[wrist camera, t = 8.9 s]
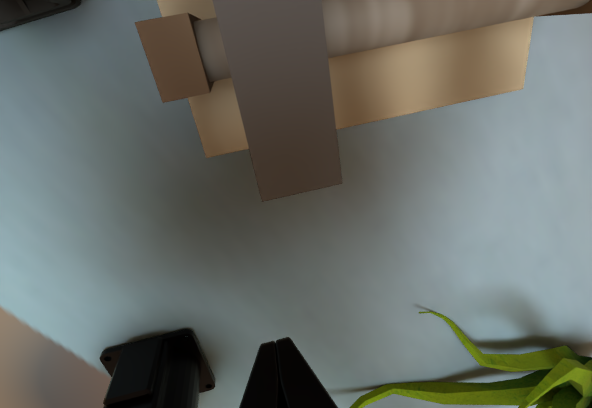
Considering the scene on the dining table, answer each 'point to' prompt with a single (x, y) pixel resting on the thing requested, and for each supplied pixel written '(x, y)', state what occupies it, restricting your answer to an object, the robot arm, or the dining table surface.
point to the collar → (282, 92)
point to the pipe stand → (357, 57)
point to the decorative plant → (507, 381)
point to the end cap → (31, 10)
